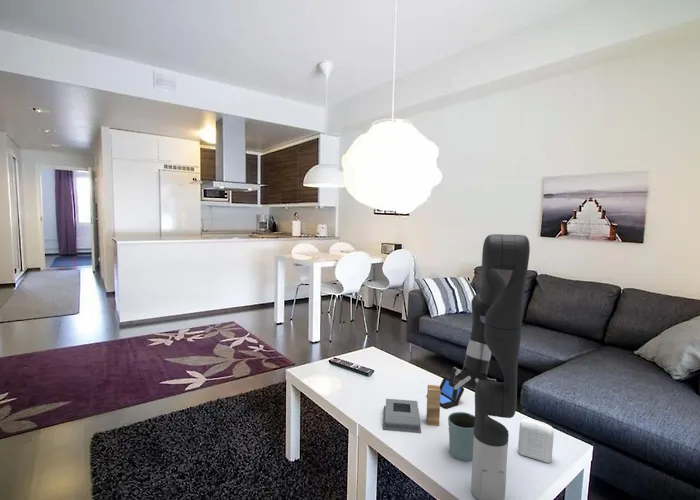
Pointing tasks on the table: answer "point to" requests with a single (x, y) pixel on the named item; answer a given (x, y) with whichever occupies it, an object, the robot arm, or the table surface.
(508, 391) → the robot arm
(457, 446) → the teal cup
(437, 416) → the oak pin
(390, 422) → the metal socket
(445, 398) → the handheld game console
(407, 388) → the table surface
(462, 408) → the table surface
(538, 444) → the photo printer
